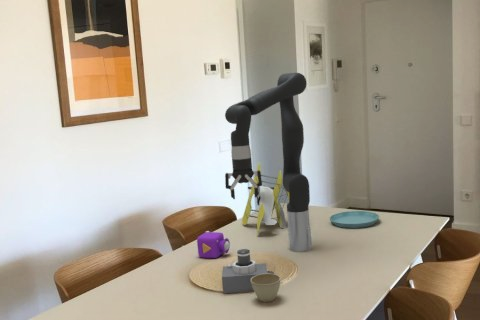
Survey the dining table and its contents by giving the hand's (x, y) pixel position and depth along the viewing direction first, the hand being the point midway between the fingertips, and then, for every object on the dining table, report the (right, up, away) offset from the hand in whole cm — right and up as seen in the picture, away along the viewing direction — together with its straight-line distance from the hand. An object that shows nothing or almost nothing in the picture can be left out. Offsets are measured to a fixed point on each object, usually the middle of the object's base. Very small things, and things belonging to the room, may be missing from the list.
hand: (244, 197), depth 201 cm
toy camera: (-13, -27, +22) cm, 37 cm away
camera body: (0, -31, -16) cm, 35 cm away
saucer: (+55, -17, +56) cm, 80 cm away
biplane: (+13, -20, +56) cm, 61 cm away
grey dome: (+8, -29, -6) cm, 31 cm away
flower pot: (+7, -32, -29) cm, 44 cm away
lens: (0, -25, -17) cm, 30 cm away
